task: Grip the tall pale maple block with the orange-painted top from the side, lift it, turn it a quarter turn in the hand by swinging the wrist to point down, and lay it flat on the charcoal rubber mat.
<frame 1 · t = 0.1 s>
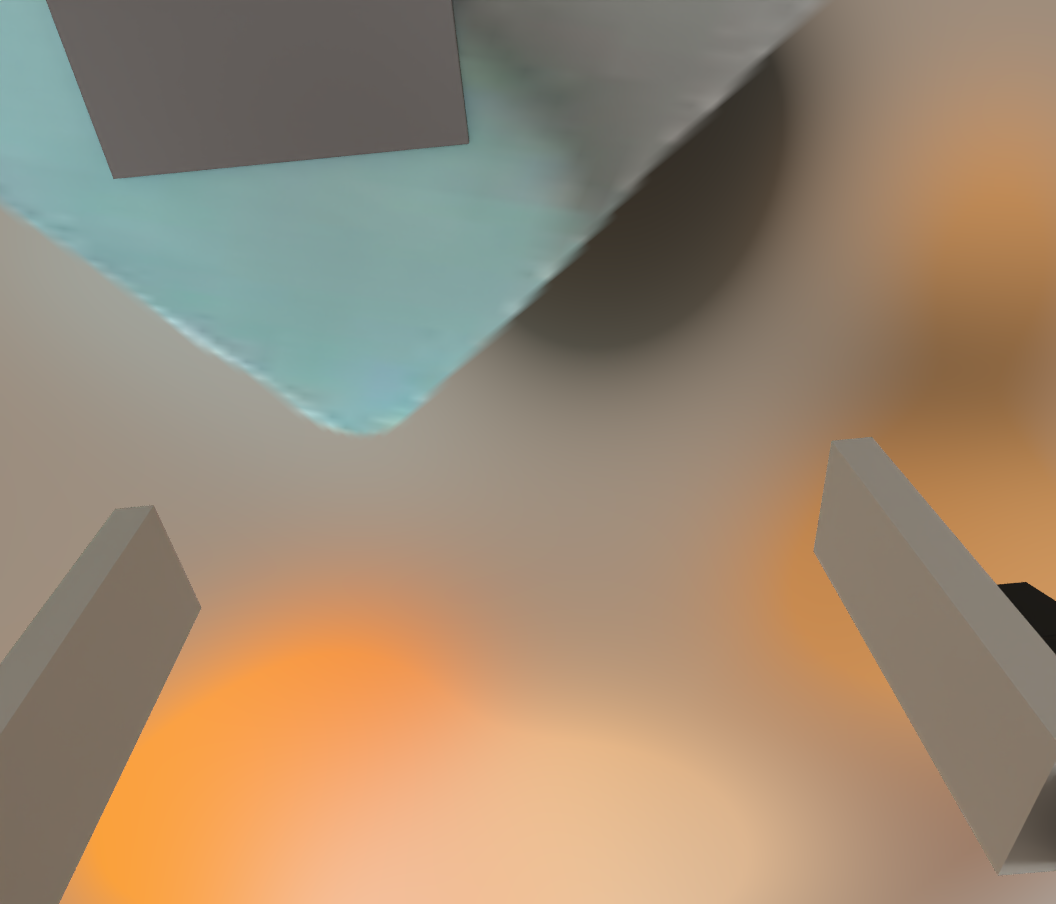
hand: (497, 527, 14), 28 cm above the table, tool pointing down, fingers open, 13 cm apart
rubber mat: (259, 22, 33), on the table
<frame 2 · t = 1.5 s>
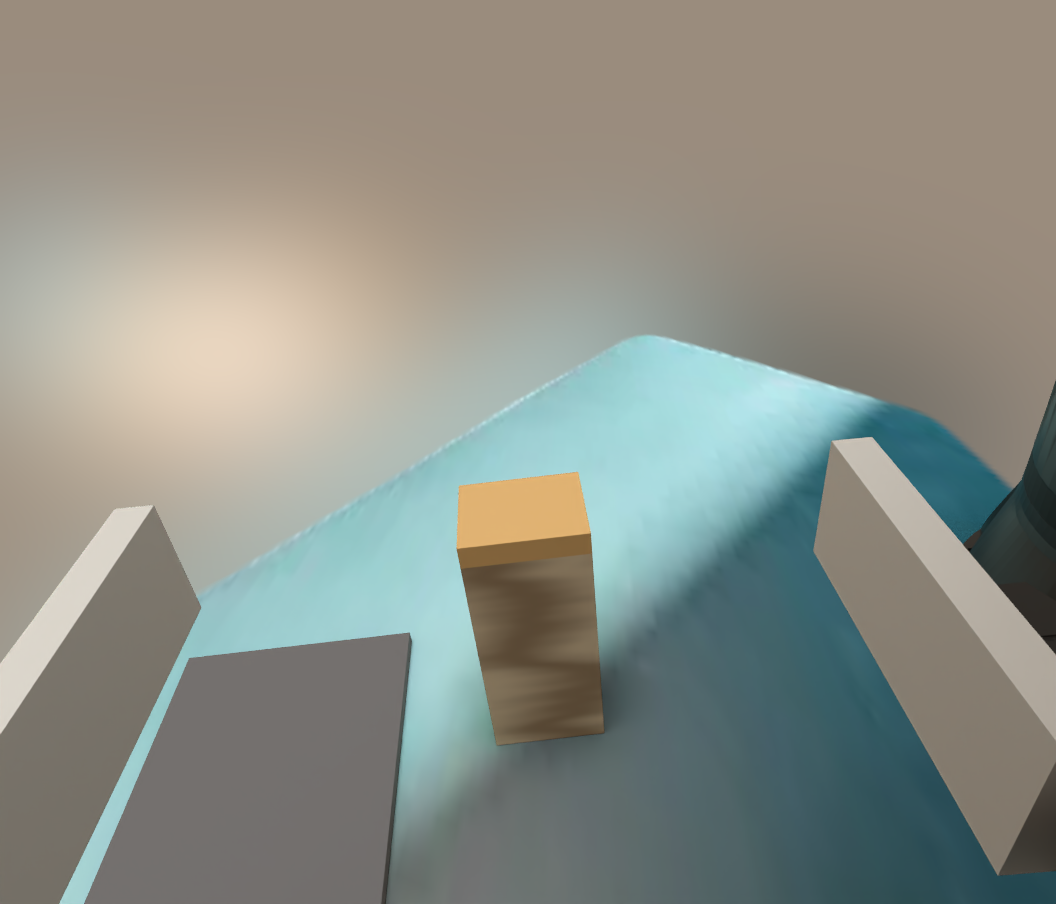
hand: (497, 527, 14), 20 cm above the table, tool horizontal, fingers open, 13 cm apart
maple block: (547, 702, 35), on the table
rubber mat: (260, 812, 32), on the table
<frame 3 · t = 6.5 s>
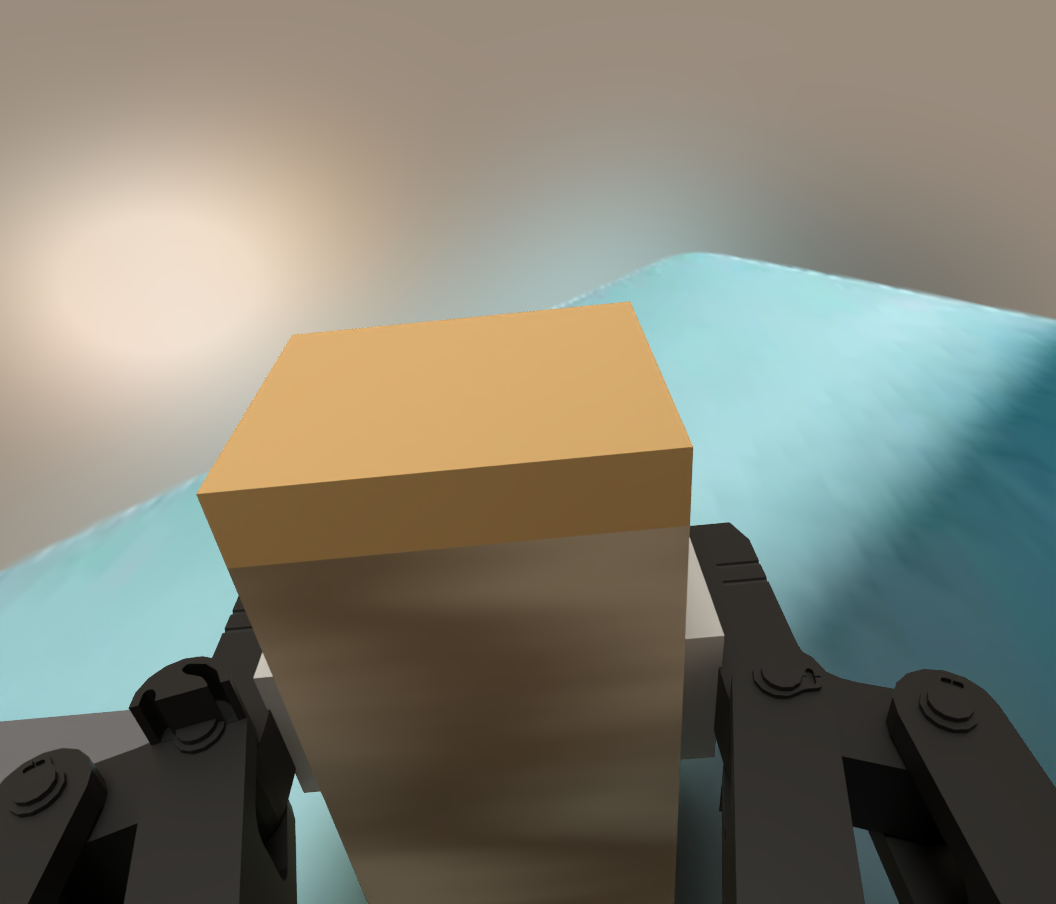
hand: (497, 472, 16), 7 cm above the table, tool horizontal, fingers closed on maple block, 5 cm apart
maple block: (535, 881, 15), on the table, touching gripper
when the fingers open (2 cm above the table, at t = 12.7 s): maple block drops 5 cm, resting on rubber mat.
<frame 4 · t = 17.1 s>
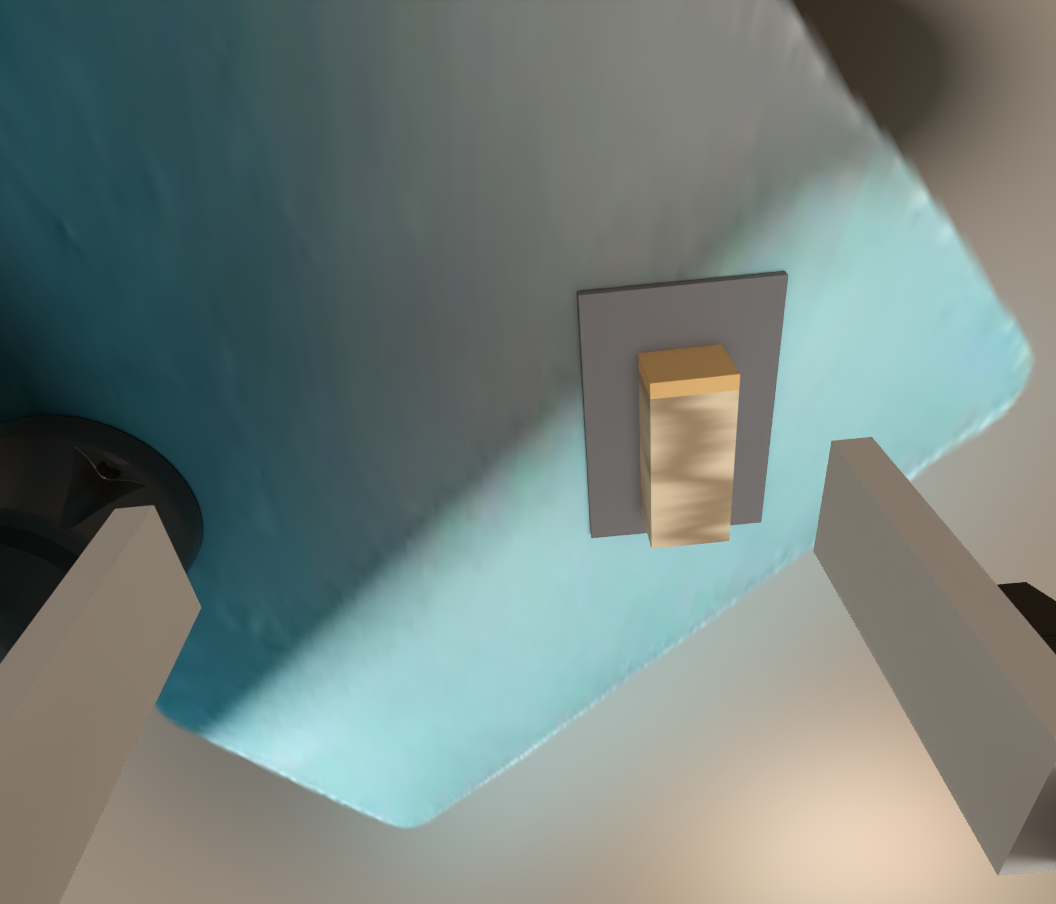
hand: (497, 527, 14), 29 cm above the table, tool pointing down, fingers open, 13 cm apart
maple block: (683, 525, 48), point 3 cm above the table, tilted 90°, touching rubber mat
rubber mat: (677, 415, 46), on the table
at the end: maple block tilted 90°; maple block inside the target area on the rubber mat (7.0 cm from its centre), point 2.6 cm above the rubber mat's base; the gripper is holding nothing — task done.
